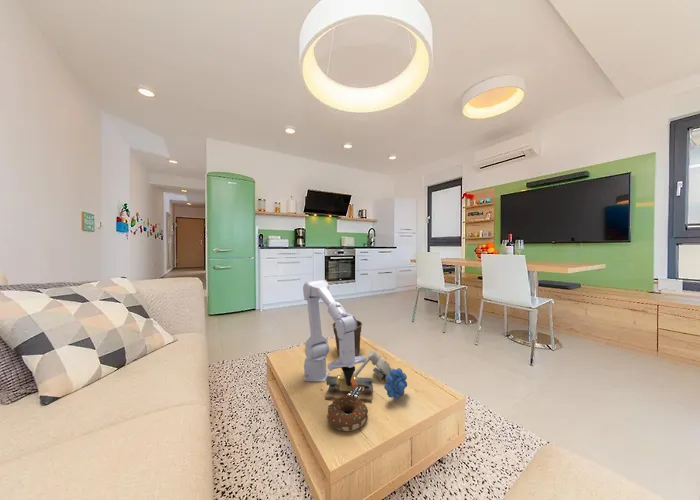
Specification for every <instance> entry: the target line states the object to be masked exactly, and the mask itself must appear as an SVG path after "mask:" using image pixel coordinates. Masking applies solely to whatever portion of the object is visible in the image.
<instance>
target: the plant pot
mask: <svg viewBox="0 0 700 500" xmlns="http://www.w3.org/2000/svg"><path fill="white" fill-rule="evenodd" d="M356 321H357V329H356V330H354V340H355V356H360V352H361V335H362V333H361V332H362V326H363V322H362V321H360V320H357V319H356ZM335 324H336V323H335V322H334V321H333V323H332V324H331V326H332V328H333V333H334V339H335V345H336V354H337V356H338V357H340V354H339V338H338V336H337V330H336V327H335Z"/></svg>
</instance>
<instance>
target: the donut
mask: <svg viewBox="0 0 700 500" xmlns="http://www.w3.org/2000/svg"><path fill="white" fill-rule="evenodd" d="M368 412H369V410H368V407H367V405H366V403H365V402H363V401H361V400H359V399H358V398H357V397H353V396H347V397H345V396H344V397H340V398H338V399H336V400H332V403H330V404H329V405H328V406H327V417H326V418H327V420H328V422H329V424H330V426H332V428H335V429H336V430H339V431H341V432H352V431H355V430H358V429H359V428H361V427H362V426H363V425H364V424H365V423H366V421H367V419H368V414H369V413H368Z"/></svg>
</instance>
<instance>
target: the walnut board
mask: <svg viewBox="0 0 700 500" xmlns="http://www.w3.org/2000/svg"><path fill="white" fill-rule="evenodd" d="M329 386H330V385H328V388H327V391H326V392H325V393H326V394H325V396H324V400H326V401H335V400H336V399H338V398H340V397H344V396H345V397H346V396H347V394H348V393H349V392H350V391H340V387H337V386H336V389H335V392H329ZM373 391H374V385H373V384H372V387H370V394H364V387H363V389H362V391H361V393H360V394H359V396H358V399H359V400H361V401H363V403H372V401H373V394H374V393H373Z"/></svg>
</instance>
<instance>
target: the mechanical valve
mask: <svg viewBox="0 0 700 500" xmlns="http://www.w3.org/2000/svg"><path fill="white" fill-rule="evenodd" d="M369 362H371V364H372V365H373V366H376V367H374V368H373V369H372V371H373V373H375V375H376V376H377V377H378V378H380V379H383V377H384V375H385V377H386V376H387V375H390V371H391V370H392V369H395V368H394V367H391V365H390V364H391V363H389V362H388V361H387V360H386V359H385V358H382V356H381V354H378V353H377V351H376V350H374V349H371V350H370V351H369V352H368V353H367V357H366V363H362V364H360V366H359V367H358V368H357V369H356V370H355V371H354V376H357V377H358V375H359V374H360V372H361V371H362V370H363V369H364V368H365V366H366V365H368V363H369Z"/></svg>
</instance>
